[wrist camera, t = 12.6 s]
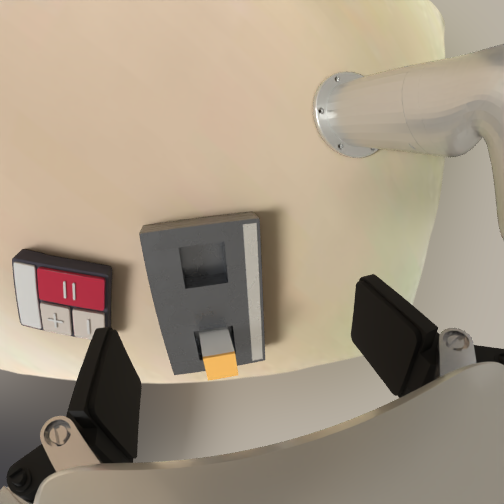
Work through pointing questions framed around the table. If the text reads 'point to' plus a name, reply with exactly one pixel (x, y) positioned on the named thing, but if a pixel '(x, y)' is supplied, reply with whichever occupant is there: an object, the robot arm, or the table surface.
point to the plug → (218, 353)
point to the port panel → (206, 285)
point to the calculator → (62, 294)
